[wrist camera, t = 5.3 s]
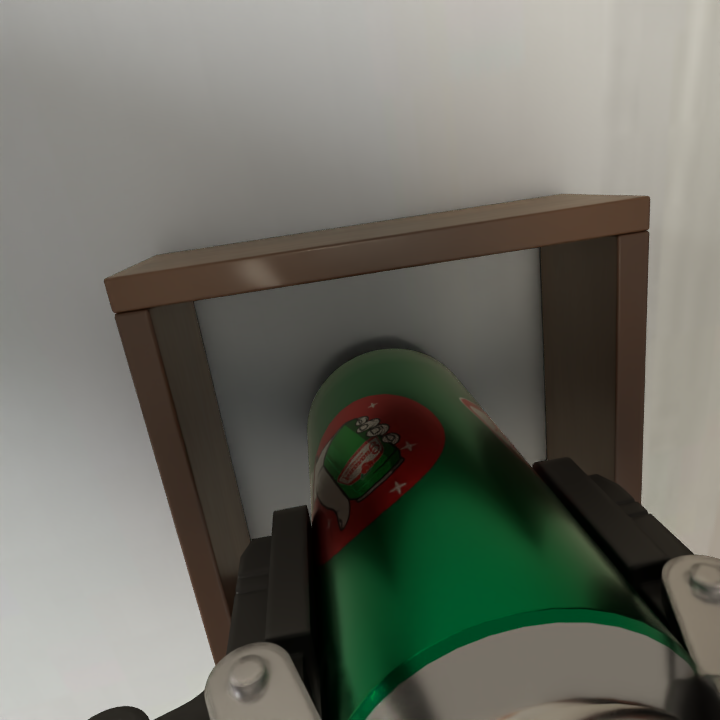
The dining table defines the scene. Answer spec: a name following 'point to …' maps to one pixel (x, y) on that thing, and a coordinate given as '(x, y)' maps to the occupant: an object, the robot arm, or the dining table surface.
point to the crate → (371, 255)
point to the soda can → (464, 569)
